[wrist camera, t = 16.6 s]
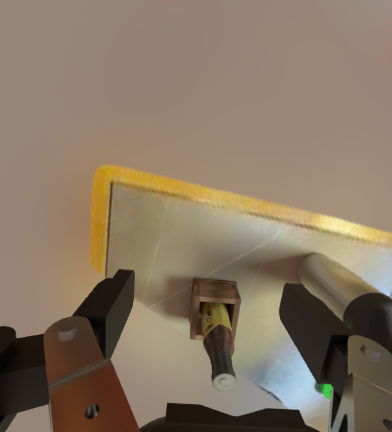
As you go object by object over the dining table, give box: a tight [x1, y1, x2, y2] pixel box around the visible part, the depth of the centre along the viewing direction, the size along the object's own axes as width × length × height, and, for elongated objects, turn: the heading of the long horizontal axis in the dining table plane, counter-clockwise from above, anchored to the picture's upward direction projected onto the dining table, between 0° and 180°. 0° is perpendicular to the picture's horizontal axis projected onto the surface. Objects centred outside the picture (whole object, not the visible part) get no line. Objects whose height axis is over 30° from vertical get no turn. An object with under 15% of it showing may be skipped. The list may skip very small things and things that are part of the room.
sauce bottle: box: [201, 302, 236, 392], centre depth 44 cm, size 7×6×20 cm
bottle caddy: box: [189, 278, 241, 341], centre depth 51 cm, size 11×12×7 cm
